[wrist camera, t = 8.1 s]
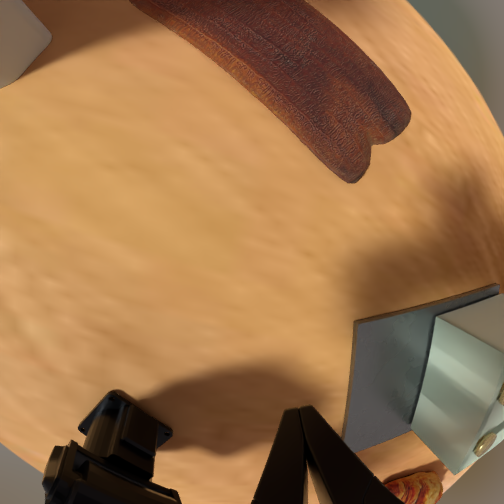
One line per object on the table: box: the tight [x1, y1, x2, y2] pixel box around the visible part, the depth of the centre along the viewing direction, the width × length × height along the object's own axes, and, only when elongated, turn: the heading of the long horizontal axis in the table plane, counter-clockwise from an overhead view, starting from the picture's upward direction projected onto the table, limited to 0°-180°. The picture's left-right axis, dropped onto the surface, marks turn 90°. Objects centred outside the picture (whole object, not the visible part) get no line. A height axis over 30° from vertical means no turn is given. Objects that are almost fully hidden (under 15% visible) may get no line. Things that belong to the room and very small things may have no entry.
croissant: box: [385, 471, 443, 504], centre depth 29 cm, size 21×10×8 cm, turn 53°
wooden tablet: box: [129, 0, 411, 183], centre depth 18 cm, size 27×10×2 cm, turn 47°
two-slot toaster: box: [410, 293, 504, 475], centre depth 22 cm, size 12×14×9 cm
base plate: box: [341, 283, 504, 457], centre depth 21 cm, size 20×16×11 cm
